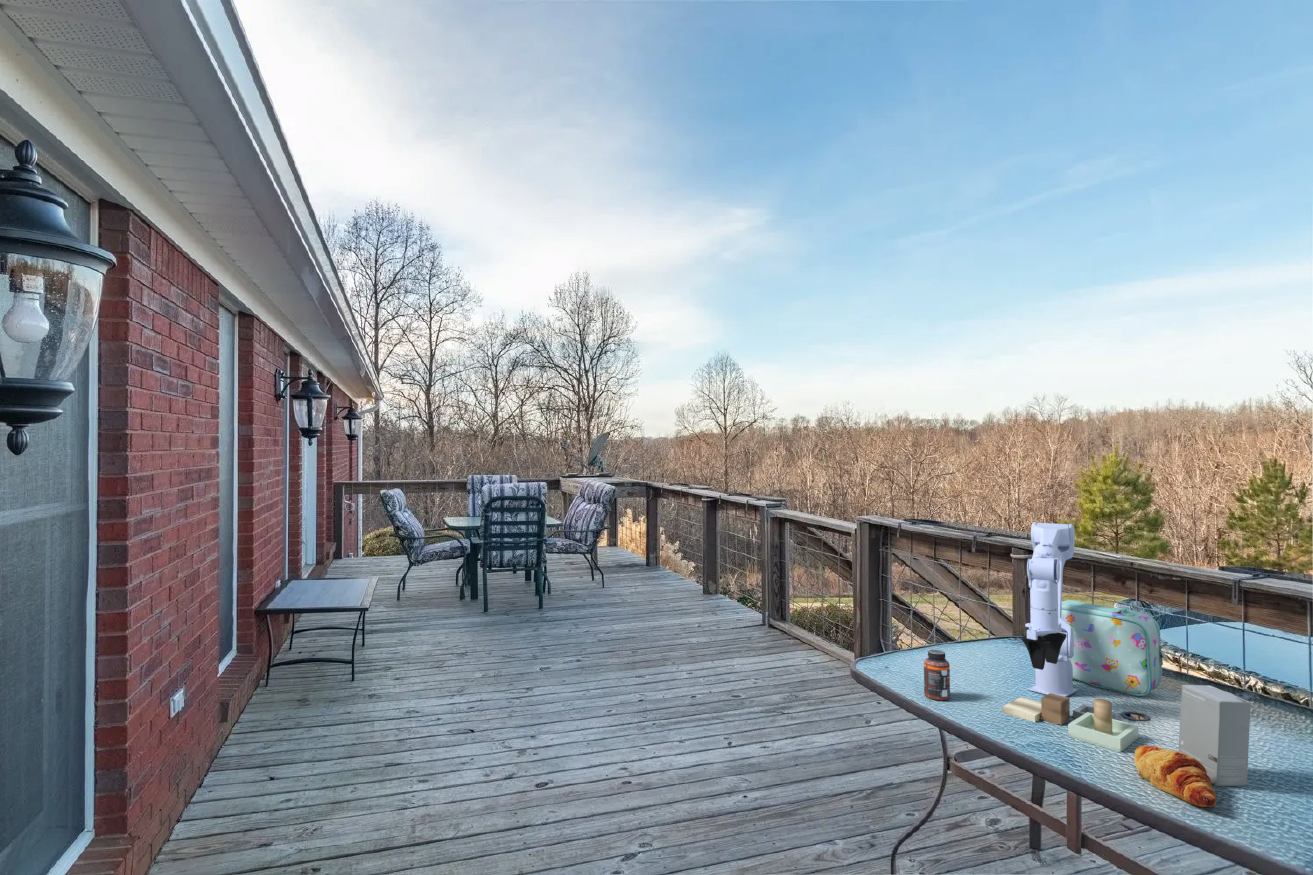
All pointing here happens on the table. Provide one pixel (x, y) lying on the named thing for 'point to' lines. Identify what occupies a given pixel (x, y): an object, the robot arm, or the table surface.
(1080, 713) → the dowel socket
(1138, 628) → the lunch box
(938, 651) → the supplement bottle
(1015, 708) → the cream flat block
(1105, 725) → the dowel
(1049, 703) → the brown block
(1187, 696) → the skincare box
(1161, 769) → the croissant
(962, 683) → the table surface
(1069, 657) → the robot arm
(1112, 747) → the tray
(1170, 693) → the table surface
